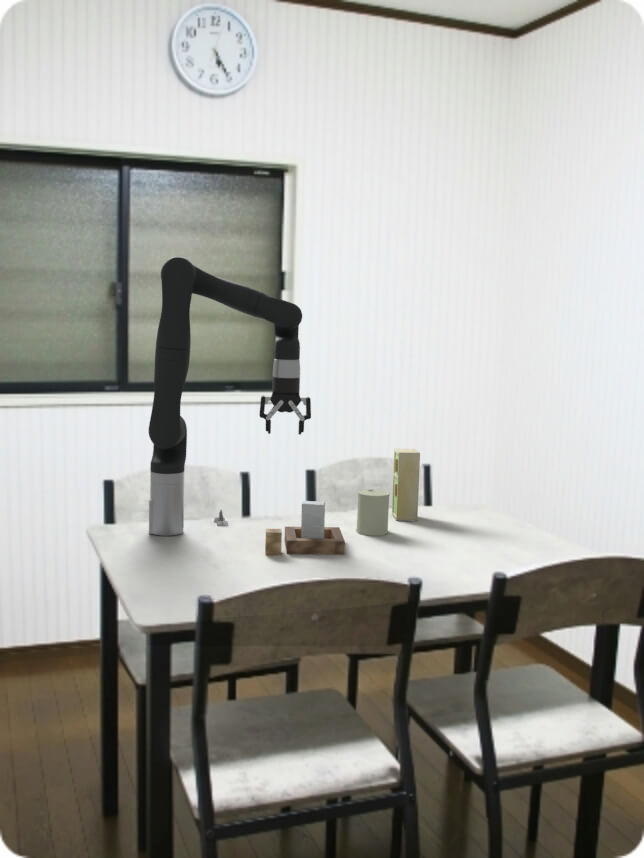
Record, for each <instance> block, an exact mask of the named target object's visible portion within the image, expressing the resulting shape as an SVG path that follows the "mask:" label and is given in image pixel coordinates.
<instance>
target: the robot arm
mask: <svg viewBox="0 0 644 858" xmlns="http://www.w3.org/2000/svg"><path fill="white" fill-rule="evenodd" d="M160 279H161V301H162V302H161V313H160V317H159V322H158V328H157V334H156V341H155V342H156V343H155V351H154V352H155V353H154V355H155V356H154V374H153V376H154V377H153V380H154V381H153V401H152V407H151V414H150V419H149V424H148V437H149V439H150V441H151V443H152V444H153V447H152V448H153V451H152V456H151V461H150V467H149V468H150V470H149V471H150V475H149V477H150V478H149V479H150V480H149V481H150V484H149V485H150V486H149V488H150V491H149V496H150V497H149V500H148V535H155V536H163V537H164V536H166V537H167V536H178V535H181V534H183V533H184V528H185V527H184V526H185V525H184V524H185V523H184V522H185V521H184V519H185V514H184V513H185V511H184V510H185V467H186V465H185V464H186V461H187V447H188V446H187V445H188V441H187V440H188V427H187V422H186V420H185V419H184V417H182V415H181V405H182V403H181V402H182V395H183V390H184V387H185V383H186V382H187V381H186V380H187V377H188V372H189V368H190V367H189V366H190V358H191V344H192V343H191V339H192V338H191V335H192V334H191V319H190V317H191V315H190V313H191V302H192V298H193V297H192V296H193V295H197V296H201V297H204V298H208V299H211V300H213V301H215V302H217V303H219V304H222V305H224V306H226V307H229V308H231V309H233V310H235V311H238V312H240V313H243V314H246V315H249V316H252V317H254V318H258V319H263V320H265V321H267V322H269V323H271V324H274V325H273V326H274V338H275V340H274V348H273V349H274V350H273V351H274V353H273V354H274V355H273V364H272V366H273V367H272V385H271V387H272V388H271V389H272V390H271V391H272V394H271V396H265V395H261V396H260V402H259V404H260V405H259V415H258V416H259V417H260V419H261V418H262V419H264V420H265V432H267V434H268V435H270V434H271V431H272V430H271V429H272V425H271V424H272V420H271V419H272V418H273V416H274V415H275V414H276V412H278V413H293V412H294V413H295V415H296V417H297V418H299V420H298V435H299V436H301V435H302V433H304V431H305V421H306V420H310V419H311V418H312V408H311V407H312V404H311V403H312V402H311V397H309V396H307V397H301V396H300V388H301V386H300V383H301V363H300V359H301V358H300V354H301V352H300V351H301V343H300V340H299V326H300V324H301V323H302V321H303V313H302V310H301V308H300V307H299V306H298V305H297V304H295V303H293V302H291V301H287V300H284V299H280V298H278V297H275V296H271V295H269V294H267V293H266V292H263V291H260V290H258V289H255V288H252V287H250V286H247V285H244V284H241V283H237V282H235V281H231V280H227V279H224V278H221V277H218V276H216V275H213V274H211V273H209V272H207V271H204V270H203V269H202V268H199V267H198V266H197V265H194V264H193V263H192V262H191V261H190V260H189V259H187V258H185V257H183V256H173V257H170V258H169V259H167V260H166V261H165V262H164V263H163V265H162V267H161V270H160ZM269 401H270V402H271V404H272V405H273V407H271V409H270V411H269V412H268V413H265V406H266V405H267V404H268V403H269ZM301 402H302V403H303V405H304V406H305V414H302V413H301V411H300V409H299V408H298V406H299V405H300V404H301Z"/></svg>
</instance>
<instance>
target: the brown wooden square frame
mask: <svg viewBox="0 0 644 858" xmlns="http://www.w3.org/2000/svg"><path fill="white" fill-rule="evenodd" d="M284 545H285V550H286V551H285V552H286V554H289V555H291V554H293V555H345V549H346V548H345V547H346V541H345V538H344V536H343V533H342V530H341V528H340V527H338V526H324V539H317V538H301V526H284Z"/></svg>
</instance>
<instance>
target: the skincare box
mask: <svg viewBox="0 0 644 858" xmlns="http://www.w3.org/2000/svg"><path fill="white" fill-rule="evenodd" d="M325 508H326V502H325V501H315V500H313V501H312V500H302V503H301V525H300V527H301V538H317V539H324V527H325V521H326V520H325V515H326V514H325V512H326V509H325Z"/></svg>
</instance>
